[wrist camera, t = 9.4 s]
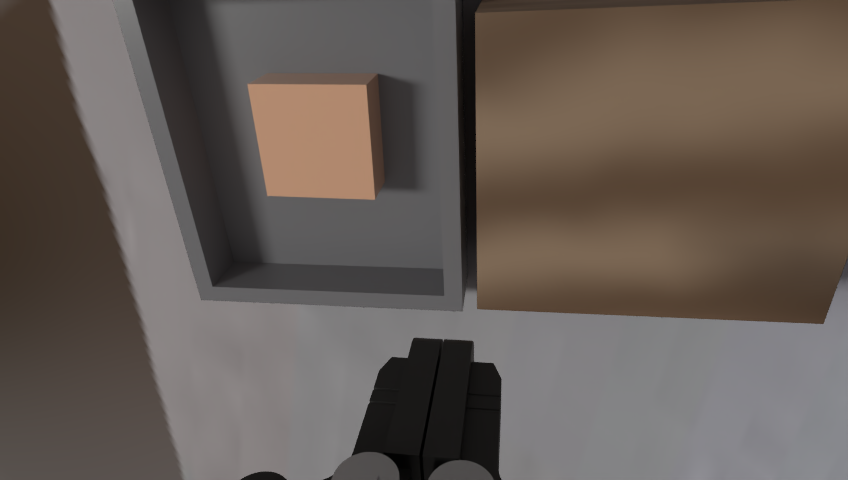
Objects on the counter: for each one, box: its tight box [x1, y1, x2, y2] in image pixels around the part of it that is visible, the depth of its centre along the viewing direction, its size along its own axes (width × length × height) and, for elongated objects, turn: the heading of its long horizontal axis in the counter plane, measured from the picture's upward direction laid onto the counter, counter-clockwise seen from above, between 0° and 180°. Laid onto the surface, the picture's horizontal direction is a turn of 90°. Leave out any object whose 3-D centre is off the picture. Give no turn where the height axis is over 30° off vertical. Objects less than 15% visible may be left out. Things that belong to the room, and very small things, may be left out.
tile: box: [247, 73, 385, 200], centre depth 29 cm, size 6×6×2 cm
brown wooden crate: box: [475, 0, 848, 324], centre depth 26 cm, size 14×16×6 cm
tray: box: [113, 0, 467, 311], centre depth 30 cm, size 18×16×4 cm
